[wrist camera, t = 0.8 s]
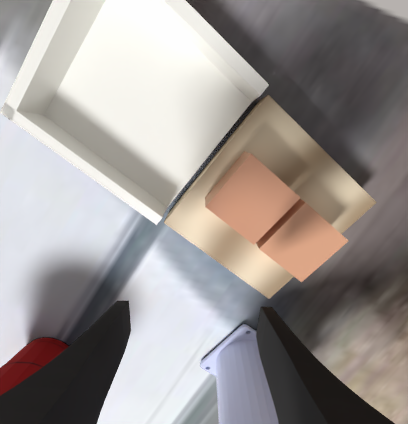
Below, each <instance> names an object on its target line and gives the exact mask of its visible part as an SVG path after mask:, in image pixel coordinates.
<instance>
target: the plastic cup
mask: <svg viewBox="0 0 408 424" xmlns="http://www.w3.org/2000/svg"><path fill="white" fill-rule="evenodd" d="M68 347H69V346H68V345H66V344H65V343H64V342H62V341H59V340H57V339H54V338H39V339H35V340H33V341H32V342H31V343H29V344H28V345H26V346H25V347H24V348H23V349H22V350H20V351H19V352H18V353H17V354H16V355H15V356H14V357H13V358H12V359H11V360H9V361H8V362H7V363H6V364H5V365H3V366H2V367H1V368H0V396H1V395H2V394H4V393H5V392H7V391H8V390H10V389H12V388H13V387H15V386H16V385H18V384H19V383H21V382H22V381H24V380H25V379H26V378H28V377H29V376H31V375H32V374H34V373H35V372H37V371H38V370H39V369H41V368H42V367H44V366H45V365H46V364H48V363H49V362H50V361H51V360H53V359H54V358H55V357H57V356H58V355H59V354H60V353H62V352H63V351H64V350H65V349H66V348H68Z"/></svg>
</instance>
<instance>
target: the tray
mask: <svg viewBox="0 0 408 424" xmlns="http://www.w3.org/2000/svg"><path fill="white" fill-rule="evenodd" d="M268 86H269V84H268V83H267V82H266V81H265V80H264V79H263V78H262V77H261V76H260V75H259V74H258V73H257V72H256V71H255V70H254V69H253V68H252V67H251V66H250V65H249V64H248V63H247V62H246V61H245V60H244V59H243V58H242V57H241V56H240V55H239V54H238V53H237V52H236V51H235V50H234V49H233V48H232V47H231V46H230V45H229V44H228V43H227V42H226V41H225V40H224V39H223V38H222V37H221V36H220V35H219V34H218V33H217V32H216V31H215V30H214V28H213V27H212V26H211V25H210V24H209V23H208V22H207V21H206V20H205V19H204V18H203V17H202V16H201V15H200V14H199V13H198V12H197V11H196V10H195V9H194V8H193V7H192V6H191V5H190V4H189V3H188V2H187V1H186V0H53V1H52V4H51V6H50V8H49V10H48V12H47V14H46V16H45V18H44V20H43V23H42V25H41V27H40V29H39V31H38V33H37V35H36V37H35V39H34V42H33V44H32V46H31V48H30V50H29V52H28V54H27V56H26V58H25V61H24V63H23V65H22V67H21V69H20V71H19V73H18V75H17V77H16V80H15V82H14V84H13V86H12V88H11V90H10V92H9V94H8V96H7V99H6V101H5V103H4V105H3V107H2V109H1V111H0V113H1V114H3V115H4V116H5V117H7V118H8V119H10V120H11V121H12V122H14V123H15V124H17V125H18V126H19V127H21V128H22V129H24V130H25V131H26V132H28V133H29V134H31V135H32V136H33V137H35V138H36V139H37V140H39V141H40V142H42V143H43V144H44V145H46V146H47V147H49V148H50V149H51V150H53V151H54V152H56V153H57V154H58V155H60V156H61V157H63V158H64V159H65V160H67V161H68V162H70V163H71V164H72V165H74V166H75V167H77V168H78V169H79V170H81V171H82V172H84V173H85V174H86V175H88V176H89V177H91V178H92V179H93V180H95V181H96V182H98V183H99V184H100V185H102V186H103V187H104V188H106V189H107V190H109V191H110V192H111V193H113V194H114V195H116V196H117V197H118V198H120V199H121V200H123V201H124V202H125V203H127V204H128V205H130V206H131V207H132V208H134V209H135V210H137V211H138V212H139V213H141V214H142V215H144V216H145V217H146V218H148V219H149V220H151V221H152V222H153V223H155V224H156V225H157V223H158V222H159V221H160V220H161V219H162V217H163V215H164V213H165V211H166V209H167V208H168V206H169V205H170V204H171V202H172V201H173V200H174V199H175V197H176V196H177V195H178V194H179V192H180V191H181V190H182V189H183V187H184V186H185V185H186V184H187V182H188V181H189V180H190V179H191V177H192V176H193V175H194V174H195V172H196V171H197V170H198V169H199V167H200V166H201V165H202V164H203V162H204V161H205V160H206V159H207V157H208V156H209V155H210V154H211V152H212V151H213V150H214V149H215V147H216V146H217V145H218V144H219V142H220V141H221V140H222V139H223V137H224V136H225V135H226V134H227V132H228V131H229V130H230V129H231V127H232V126H233V125H234V124H235V122H236V121H237V120H238V119H239V117H240V116H241V115H242V114H243V112H244V111H245V110H246V109H247V107H248V106H249V105H250V104H251V102H253V101H254V100H255V99H257V98H258V97H259V96H261V94H262V93H263V92H264V91H265V89H266V88H267V87H268Z"/></svg>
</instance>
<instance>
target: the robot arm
mask: <svg viewBox="0 0 408 424" xmlns="http://www.w3.org/2000/svg"><path fill="white" fill-rule="evenodd" d="M130 332H131V326H130V311H129V301H117V302H115V303H114V304H113V305H112V306H111V307H110V308H109V309H108V310H107V311H106V312H105V313H104V314H103V315H102V316H101V317H100V318H99V319H98V320H97V321H96V322H95V323H94V324H93V325H92V326H91V327H90V328H89V329H88V330H87V331H86V332H85V333H84V334H83V335H81V336H80V337H79V338H78V339H77V340H76V341H75V342H73V343H72V344H71V345H70V346H69V347H68V348H66V349H65V350H64V351H63V352H62V353H60V354H59V355H58V356H57V357H55V358H54V359H53V360H51V361H50V362H49V363H48V364H46V365H45V366H44V367H42V368H41V369H39V370H38V371H37V372H35V373H34V374H32V375H31V376H29V377H28V378H26V379H25V380H24V381H22V382H21V383H19V384H18V385H16V386H15V387H13V388H12V389H10V390H8V391H7V392H5V393H4V394H2V395H1V396H0V424H97V421H98V418H99V415H100V412H101V409H102V406H103V404H104V401H105V398H106V396H107V393H108V391H109V389H110V386H111V384H112V381H113V379H114V377H115V374H116V372H117V369H118V367H119V364H120V362H121V359H122V357H123V355H124V352H125V349H126V346H127V342H128V339H129V335H130ZM200 367H201V368H202V369H204V370H206V371H207V372H209V373H211V374H213V375H214V376H216V378H217V396H218V414H219V424H395V423H393V422H392V421H390V420H389V419H388V418H386V417H385V416H384V415H382V414H381V413H380V412H378V411H377V410H376V409H374V408H373V407H372V406H370V405H369V404H368V403H367V402H365V401H364V400H363V399H361V398H360V397H359V396H358V395H357V394H355V393H354V392H353V391H352V390H351V389H349V388H348V387H347V386H346V385H345V384H343V383H342V382H341V381H340V380H339V379H338V378H337V377H335V376H334V375H333V374H332V373H331V372H330V371H329V370H328V369H327V368H326V367H325V366H324V365H323V364H322V363H321V362H319V361H318V360H317V359H316V358H315V356H314V355H313V354H312V353H311V352H310V351H309V350H308V349H307V348H306V347H305V346H304V345H303V344H302V343H301V341H300V340H299V339H298V338H297V337H296V336H295V335H294V333H293V332H292V331H291V330H290V329H289V327H288V326H287V325H286V324H285V323H284V321H283V320H282V319H281V318H280V316H279V315H278V314H277V313H276V311H275V310H274V309H273V308H272V307H261V309H260V315H259V321H258V327H257V331H255V330H254V329H252V328H251V327H249V326H248V325H246V324H243V325H241V326H240V327H239V328H238V329H237V330H236V331H234V332H233V333H232V334H231V335H230V336H229V337H228V338H227V339H225V340H224V341H223V342H222V343H221V344H220V345H219V346H218V347H217V348H215V349H214V350H213V351H212V352H211V353H210V354H209V355H208V356H206V357H205V358H204V359H203V360H202V361H201V362H200Z"/></svg>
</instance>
